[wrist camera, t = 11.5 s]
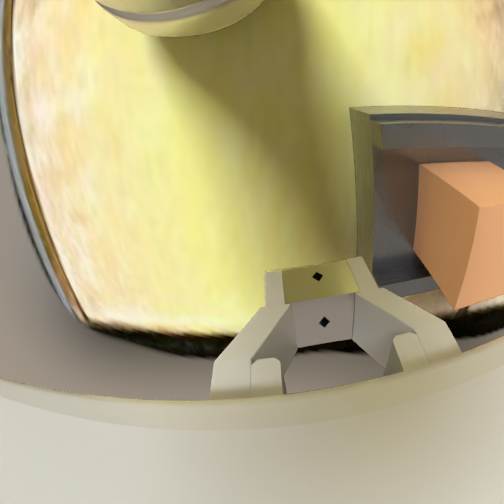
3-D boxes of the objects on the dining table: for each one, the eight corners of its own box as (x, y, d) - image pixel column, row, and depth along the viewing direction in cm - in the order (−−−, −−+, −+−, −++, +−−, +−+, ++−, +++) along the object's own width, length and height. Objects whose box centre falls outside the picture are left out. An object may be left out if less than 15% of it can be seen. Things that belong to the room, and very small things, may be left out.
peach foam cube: (419, 163, 10) (479, 207, 6) (488, 161, 9) (548, 199, 6) (413, 249, 12) (454, 310, 8) (477, 238, 11) (521, 287, 8)
